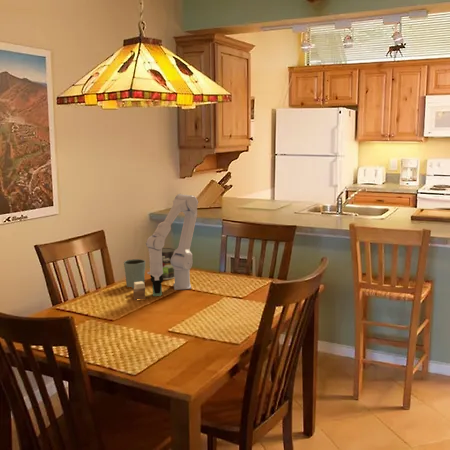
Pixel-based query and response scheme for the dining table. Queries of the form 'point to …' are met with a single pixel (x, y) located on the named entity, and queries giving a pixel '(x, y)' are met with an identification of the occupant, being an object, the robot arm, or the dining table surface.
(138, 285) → the cream block
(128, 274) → the teal cup
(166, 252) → the coffee can
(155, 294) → the teal block
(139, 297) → the walnut block
